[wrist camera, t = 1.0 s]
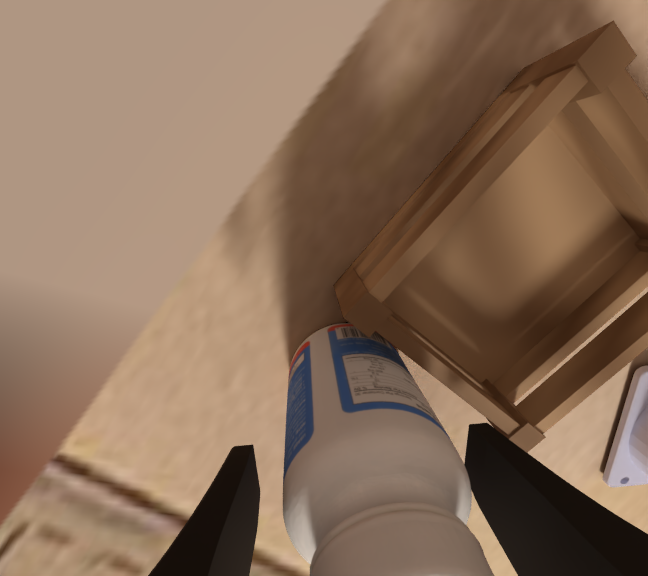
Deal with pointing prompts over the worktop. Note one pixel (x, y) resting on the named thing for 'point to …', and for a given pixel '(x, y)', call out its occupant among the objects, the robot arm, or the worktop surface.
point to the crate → (524, 245)
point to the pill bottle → (371, 466)
